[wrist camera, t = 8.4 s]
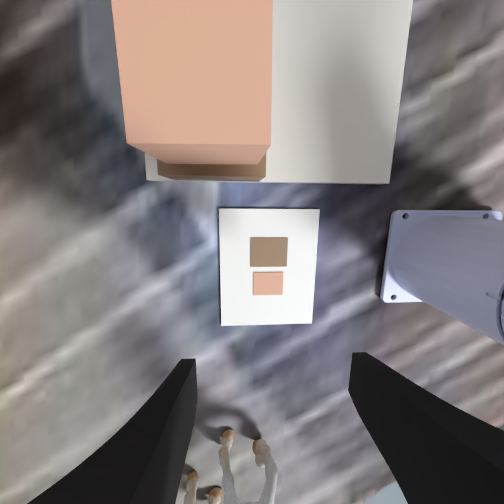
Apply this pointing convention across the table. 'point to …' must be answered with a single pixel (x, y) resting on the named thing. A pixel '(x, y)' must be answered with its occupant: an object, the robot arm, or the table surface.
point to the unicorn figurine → (230, 497)
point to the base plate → (333, 91)
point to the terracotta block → (196, 78)
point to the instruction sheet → (267, 265)
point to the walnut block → (213, 171)
